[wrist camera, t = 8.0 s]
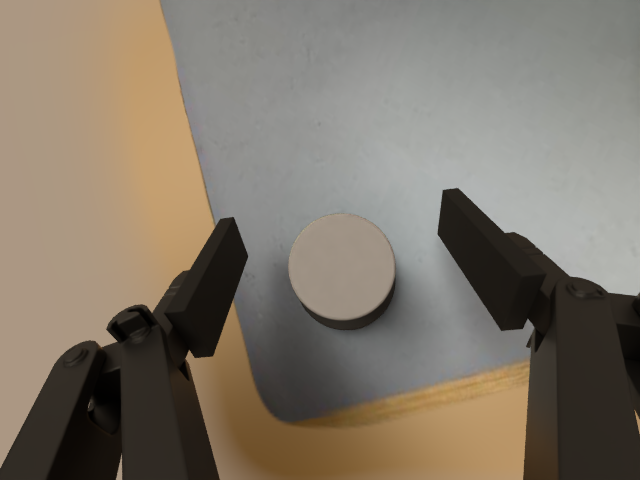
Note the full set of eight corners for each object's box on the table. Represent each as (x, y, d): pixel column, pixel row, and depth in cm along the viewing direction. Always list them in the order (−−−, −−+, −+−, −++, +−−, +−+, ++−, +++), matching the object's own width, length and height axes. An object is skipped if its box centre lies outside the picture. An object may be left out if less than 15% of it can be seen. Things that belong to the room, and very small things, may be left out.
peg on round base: (295, 322, 19) (223, 368, 8) (302, 231, 20) (249, 161, 9) (390, 331, 18) (455, 393, 7) (392, 236, 19) (452, 166, 8)
